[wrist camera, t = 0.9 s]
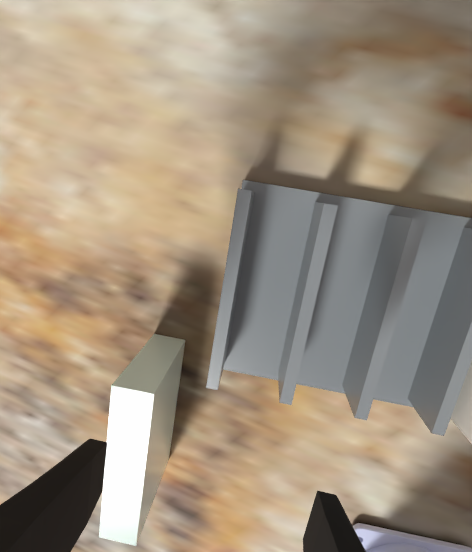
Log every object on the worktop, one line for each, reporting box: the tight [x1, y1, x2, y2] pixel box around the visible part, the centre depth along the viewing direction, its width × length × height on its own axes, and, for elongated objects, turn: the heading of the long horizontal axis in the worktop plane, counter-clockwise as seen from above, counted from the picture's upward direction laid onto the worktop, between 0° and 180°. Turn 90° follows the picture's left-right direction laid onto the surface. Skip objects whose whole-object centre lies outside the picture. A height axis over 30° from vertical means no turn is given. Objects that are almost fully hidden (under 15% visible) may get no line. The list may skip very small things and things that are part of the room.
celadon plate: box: [99, 334, 185, 546], centre depth 19 cm, size 9×2×6 cm, turn 171°
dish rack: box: [206, 180, 472, 436], centre depth 18 cm, size 11×16×4 cm
